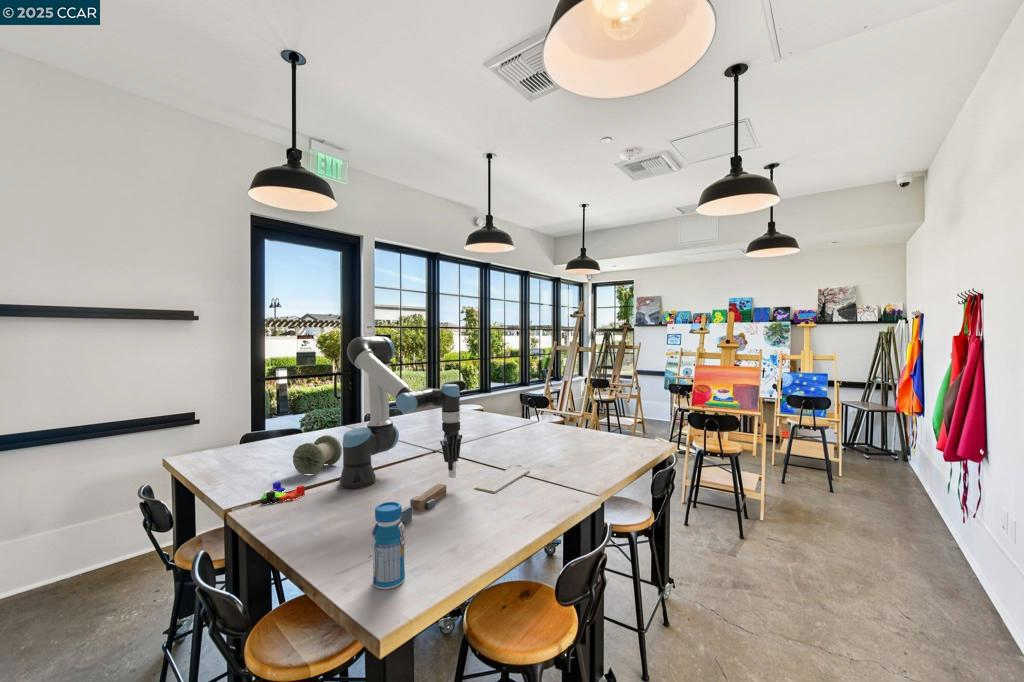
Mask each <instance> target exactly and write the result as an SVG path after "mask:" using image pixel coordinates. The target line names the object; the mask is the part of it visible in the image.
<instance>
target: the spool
mask: <svg viewBox="0 0 1024 682" xmlns="http://www.w3.org/2000/svg"><path fill="white" fill-rule="evenodd" d="M342 455H343V446H342V445H341V442H340V441H339V440H338V439H337V438H336V437H335V436H333V435H328V434H327V435H326V434H325V435H323V436H320V437H317V439H316V440H315V441H314V443H313V442H305V443H303V444H300V445H299V446H297V447H296V448H295V449H294V452H293V454H292V463H293V465H294V469H296V471H297V472H298V473H299V474H301V475H303V474H314V475H316V474H319V473H320V472H321V470H322V469H323V467H324V466H323V465H324V464H328V465H330V466H333V465H335V464H337V462H338V461H339V460H340V459H341V456H342Z"/></svg>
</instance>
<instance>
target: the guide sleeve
mask: <svg viewBox="0 0 1024 682" xmlns="http://www.w3.org/2000/svg"><path fill="white" fill-rule="evenodd" d="M418 496H419V495H415V497H412V498H411V499H410V500H409V501H410V505H409V506H411V507H413V499H415V498H416V497H418ZM435 506H436V502H435V499H430V500H429V501H427V502H425V509H424V510H427V511H428V510H429V511H430V510H431V509H432V508H434V507H435Z"/></svg>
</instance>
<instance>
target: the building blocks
mask: <svg viewBox="0 0 1024 682" xmlns="http://www.w3.org/2000/svg"><path fill="white" fill-rule="evenodd" d="M305 488H306V487H305V485H301V484H300V485H298V486H296V489H295V490H293V491H291V492H287V493H286V492H284V493H282V491H284V490H285V491H286V488H285V487H282V482H281V481H275V482H273V483H272V488H271V489H267V490H266V491H264V492H263V495H262V499H261V505H262V504H267V503H270V502H272V503H275V502H277V501H285V500H287V499H290V500H293V499H296V498H298V497H300V496H302V497H304V496H305V495H306V493H305V491H306V490H305ZM303 495H304V496H303ZM300 498H301V497H300ZM298 499H299V498H298ZM296 500H297V499H296ZM293 501H294V500H293ZM285 502H286V501H285ZM272 503H270V504H272ZM277 503H278V502H277ZM275 504H276V503H275ZM267 505H268V504H267Z"/></svg>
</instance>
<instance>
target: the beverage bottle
mask: <svg viewBox="0 0 1024 682" xmlns="http://www.w3.org/2000/svg"><path fill="white" fill-rule="evenodd" d="M402 509H403V508H402V505H401V503H400V502H398V501H386V502H383V503H379V504H377V505H376V506H375V508H374V519H375V522H376V524H375V525H374V527H373V530H372V533H371V535H372V537H373V539H372V542H371V548H372V562H373V563H372V566H373V569H372V571H373V572H372V573H373V576H372V583H373V586H374V587H375V588H377V589H379V590H391V589H394V588H396V587H398V586H400V585H402V583H404V581H405V579H406V569H405V544H406V537H405V535H404V533H405V525H404V524H402V522H401V520H400V518H401V515H402Z"/></svg>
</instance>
